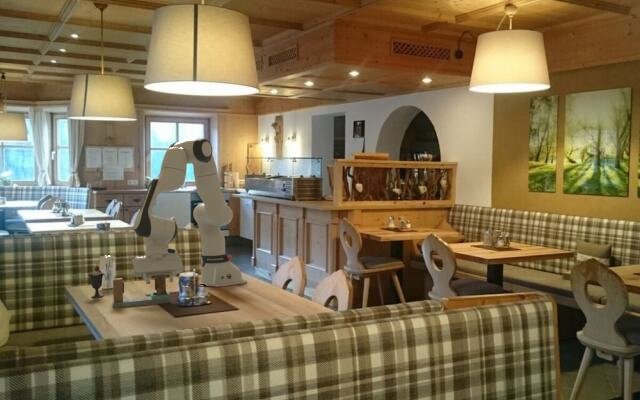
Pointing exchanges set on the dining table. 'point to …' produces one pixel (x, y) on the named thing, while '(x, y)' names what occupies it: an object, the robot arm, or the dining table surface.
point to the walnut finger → (160, 284)
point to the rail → (138, 301)
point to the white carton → (107, 270)
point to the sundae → (96, 281)
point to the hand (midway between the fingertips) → (159, 282)
